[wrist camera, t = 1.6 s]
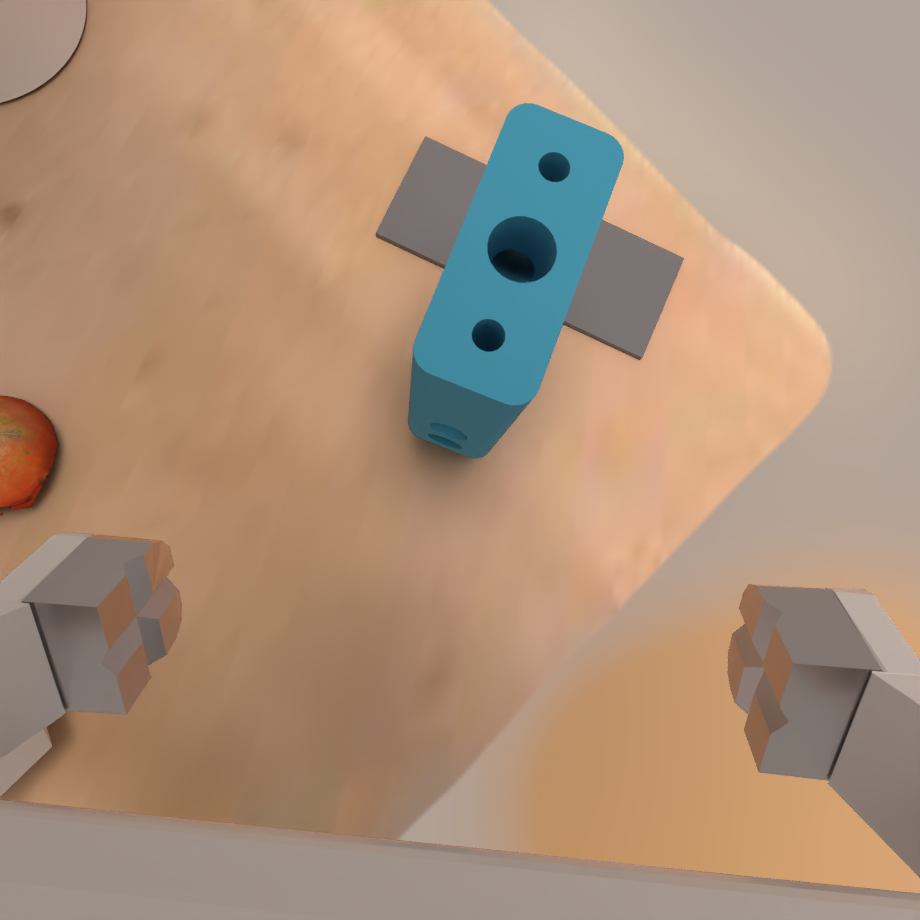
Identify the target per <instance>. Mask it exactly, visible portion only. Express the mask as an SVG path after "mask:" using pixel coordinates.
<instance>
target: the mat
mask: <svg viewBox="0 0 920 920" xmlns="http://www.w3.org/2000/svg"><path fill="white" fill-rule="evenodd" d="M486 166H487V165H485V164H483V163H481V162H479V161H477V160H475V159H472V158H470V157H468V156H466V155H464V154H462V153H460V152H458V151H455V150H453V149H451V148H449V147H447V146H445V145H443V144H441V143H439V142H436V141H434V140H432V139H430V138H428V137H426V136H425V138H424V140H423V142H422V144H421V146H420V148H419V150H418V152H417V154H416V156H415V158H414V160H413V161H412V163H411V165H410V167H409V169H408V171H407V173H406V175H405V177H404V179H403V181H402V183H401V185H400V187H399V189H398V191H397V193H396V195H395V197H394V199H393V200H392V202H391V204H390V206H389V208H388V210H387V212H386V214H385V216H384V218H383V220H382V222H381V224H380V226H379V228H378V230H377V232H376V236H377V237H379V238H381V239H383V240H385V241H387V242H389V243H392V244H394V245H396V246H398V247H400V248H402V249H404V250H406V251H409V252H411V253H413V254H415V255H417V256H419V257H421V258H424V259H426V260H428V261H430V262H432V263H434V264H436V265H439V266H441V267H443V268H445V266H446V264H447V261H448V259H449V256H450V254H451V251H452V249H453V246H454V244H455V242H456V239H457V237H458V234H459V232H460V229H461V227H462V225H463V222H464V220H465V217H466V215H467V212H468V210H469V207H470V205H471V203H472V200H473V198H474V195H475V193H476V190H477V188H478V185H479V183H480V181H481V178H482V176H483V173H484V171H485V168H486ZM683 260H684V258H682V257H680V256H678V255H676V254H674V253H672V252H669V251H667V250H665V249H663V248H661V247H659V246H657V245H655V244H653V243H650V242H648V241H646V240H644V239H642V238H640V237H638V236H636V235H633V234H631V233H629V232H627V231H625V230H623V229H621V228H619V227H616V226H614V225H612V224H610V223H608V222H606V221H604V220H602V221H601V223H600V226H599V229H598V231H597V234H596V237H595V239H594V242H593V245H592V247H591V250H590V253H589V255H588V258H587V261H586V264H585V266H584V269H583V272H582V274H581V277H580V280H579V282H578V285H577V288H576V290H575V293H574V296H573V299H572V301H571V304H570V307H569V309H568V312H567V315H566V317H565V320H564V323H563V324H565V325H567V326H569V327H571V328H573V329H575V330H577V331H579V332H582V333H584V334H586V335H588V336H590V337H592V338H594V339H597V340H599V341H601V342H603V343H605V344H607V345H609V346H612V347H614V348H616V349H618V350H620V351H622V352H624V353H626V354H629V355H631V356H633V357H635V358H637V359H639V360H640V359H641V358H642V357H643V355H644V352H645V350H646V347H647V345H648V343H649V340H650V338H651V336H652V333H653V331H654V328H655V326H656V324H657V321H658V319H659V317H660V314H661V312H662V309H663V307H664V305H665V302H666V300H667V298H668V295H669V293H670V290H671V288H672V286H673V283H674V281H675V279H676V276H677V274H678V271H679V269H680V267H681V264H682V262H683Z"/></svg>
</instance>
